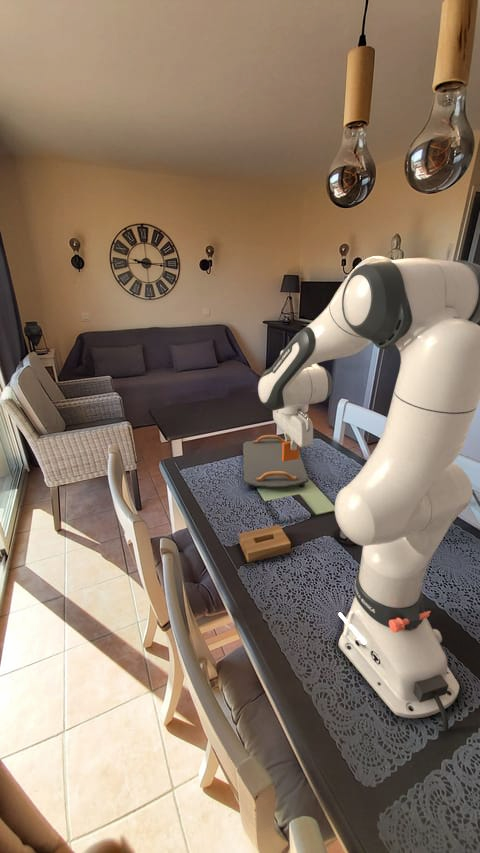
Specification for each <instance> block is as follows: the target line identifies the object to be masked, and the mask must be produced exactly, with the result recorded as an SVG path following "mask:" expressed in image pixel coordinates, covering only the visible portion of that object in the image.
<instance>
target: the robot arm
mask: <svg viewBox="0 0 480 853" xmlns="http://www.w3.org/2000/svg"><path fill="white" fill-rule="evenodd" d="M479 322H480V264H478V263H474V262H471V261H468V260H463V259H456V260H448V259H447V260H446V259H438V258H437V259H436V258H428V257H422V256H421V257H408V258H399V259H392V258H390V257H387V256H383V255H373V256H369V257H367V258H365V259H363V260H362V261H360V262H359V263H358V264H357V265H356V266H355V267H354V269H352V271H351V272H349V274H348V275H347V277H346V278H344V280H343V282H341V284H340V286H339V287H338V289H337V290H336V291H335V293H334V295H333V297H332V298H331V300H330V302H329V303H328V304H327V306H326V307H325V308H324V310H323V311H322V312H321V313H320V314H319V315H318V316H317V317H315V319H313V321H311V322H310V323H309V324H308V325H307V326H305V327H303V328H302V329H301V330H300V331H299V332H297V333H296V334H295V335H294V336H293V338H292V339H291V340H290V341H289V342H288V344H287V345H286V346H285V348H283V349H282V350H281V351H280V353H279V356H278V357H277V359H276V360H275V361H274V363H273V364H272V365H271V367H269V368H267V369H266V370H265V371H264V372H263V373H262V375H261V376H260V377H259V379H258V383H257V396H258V398H259V401H260V402H261V403H262V404H263V406H265V407H266V408H268V409H269V410H271V411H272V419H273V422H274V423H275V424H276V426H278V427H279V428H280V429H281V430H282V431H283V434H284V438H285V439H284V440H286V442H287V441H291V443H289V448H290V449H291V450H296V449H297V444H298V445H299V448H307V447H311V446H312V445H313V443H314V425H313V421H312V419H311V418H309V415H308V414H307V412H309V405H312V404H318V403H322V402H325V401H326V400H327V399H328V398H329V396H330V394H331V392H332V387H333V379H332V375H331V373H330V372H329V371H328V369H327V368H325V367H324V366H322V365H319V364H318V363H322V362H327V361H330V360H336V359H341V358H346V357H350V356H354V355H356V354H358V353H359V352H361V351H363V350H365V348H367V347H368V346H370V345H371V344H372V343H373V345H375V346H376V347H377V348H378V349H380V350H387V349H389V348H392V347H393V346H394V345H395V346H396V348H397V350H398V352H399V356H400V363H399V364H400V366H399V371H398V373H397V378H396V381H395V385H394V389H393V393H392V397H391V401H390V406H389V410H388V413H387V416H386V421H385V423H384V424H385V425H384V428H383V431H382V434H381V436H380V438H379V440H378V442H377V444H376V446H375V448H374V449H373V451H372V453H371V454H370V455H369V457H368V458H367V461H366V462H365V464H364V465H363V466H362V468H361V469H360V470H359V472H358V473H357V474H356V475H355V477H354V478H353V479H352V480H351V481H350V482H348V484H347V485H345V486H343V487H344V488H343V487H342V488H343V489H342V488H341V489H342V490H341V489H340V490H341V491H340V490H339V491H338V493H337V495H336V498H335V500H334V501H335V502H334V506H335V511H334V517H335V520H336V523H337V524H338V528H339V527H340V529H341V530H342V532H343V533H344V534H345V535H346V536H347V537H348V538H349V539H350V540H351V541H353V542H354V543H356V545H358V546H361V547H362V549H361V550H362V551H361V556H360V557H361V559H360V563H359V564H360V565H359V569H358V571H357V573H356V577H355V581H354V597H353V600H352V603H351V606H350V609H349V611H348V613H347V615H346V616H344V615H343V613H342V612H338V616H339V617H340V619H341V620H342V621H343V631H342V633H341V635H340V638H339V640H338V647H339V649H340V650H341V651H342V653H343V654H344V656H346V657H347V659H348V660H349V661H350V663H352V665H353V666H354V667H355V668H356V670H357V671H358V672H359V673H360V674H361V676H362V677H363V678H364V679H365V681H366V682H367V683H368V684H369V686H371V688H372V689H373V690H374V691H375V692H376V694H377V695H378V696H379V697H380V698H381V700H382V701H383V702H384V704H385V705H386V706H387V707H388V708H389V710H390V711H391V712H392V713H393V714H394V715H395V716H398V717H401V718H406V719H422V718H426V717H430V716H433V715H435V714H438V713H440V715H441V719H442V720H441V722H442V723H441V724H442V730H444V731H445V732H447V731H449V719H448V714H447V711H446V709H447V708H449V707H450V706H451V705H452V704H453V703H454V702H455V701H456V700H457V698H458V695H459V692H460V684H459V682H458V681H457V679H456V677H455V676H454V674H453V672H452V671H451V669H450V667H449V666H448V659H447V656H446V653H445V651H444V649H443V647H442V645H441V643H442V642H443V637H442V634H441V631H439V630H438V629H437V628H433V627H432V626H431V625H432V624H430V621H429V620H428V618H429V617H430V616H431V615H430V613H431V612H432V611H431V610H427V611H426V610H425V602H424V595H423V590H422V588H423V585H424V581H425V576H426V573H427V569H428V566H429V564H430V561H431V560H432V558H433V556H434V554H435V552H436V551H437V549H438V547H439V545H441V543H442V541H443V539H444V538H445V535H446V534H447V533H448V530H449V529H450V528H451V526H452V524H453V523H454V522H455V520H456V519H457V518H458V517H459V515H460V514H461V513H462V512H463V511H464V510H465V509H466V508H467V507H468V506H469V505H470V504H471V502H472V500H473V493H474V490H473V484H472V482H471V479H470V478H469V476H468V474H467V472H465V470H464V469H463V468H462V467H461V466H459V465H457V464H456V463H455V460H457V459H458V457H459V456H460V454H461V453H462V450H463V447H464V444H465V441H466V438H467V436H468V433H469V430H470V428H471V425H472V422H473V420H474V417H475V414H476V411H477V409H478V405H479V403H480V325H479V324H478V323H479Z"/></svg>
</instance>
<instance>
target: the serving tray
mask: <svg viewBox="0 0 480 853" xmlns="http://www.w3.org/2000/svg"><path fill="white" fill-rule="evenodd" d="M283 442H286V439H283V438H282V437H281V436H280V435H276V434H264V435H261V436H259V437H258V438H257V439H254V440H249V441H245V442H244V443H243V444H242V455H243V458H242V465H243V466H242V472H243V473H242V474H243V483H244V484H246V485H247V488H248V489H249V490H252V489H253V488H254V487H289V486H294V485H299V486H300V487H304V486H305V483H306V482H308V481H309V479H310V478H309V476H308V472H307V470H306V467H305V464H304V461H303V458H302V455H301V452H300V451H299V459H295V460H290V461H284V462H283V460H282V443H283ZM308 478H309V479H308Z"/></svg>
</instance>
